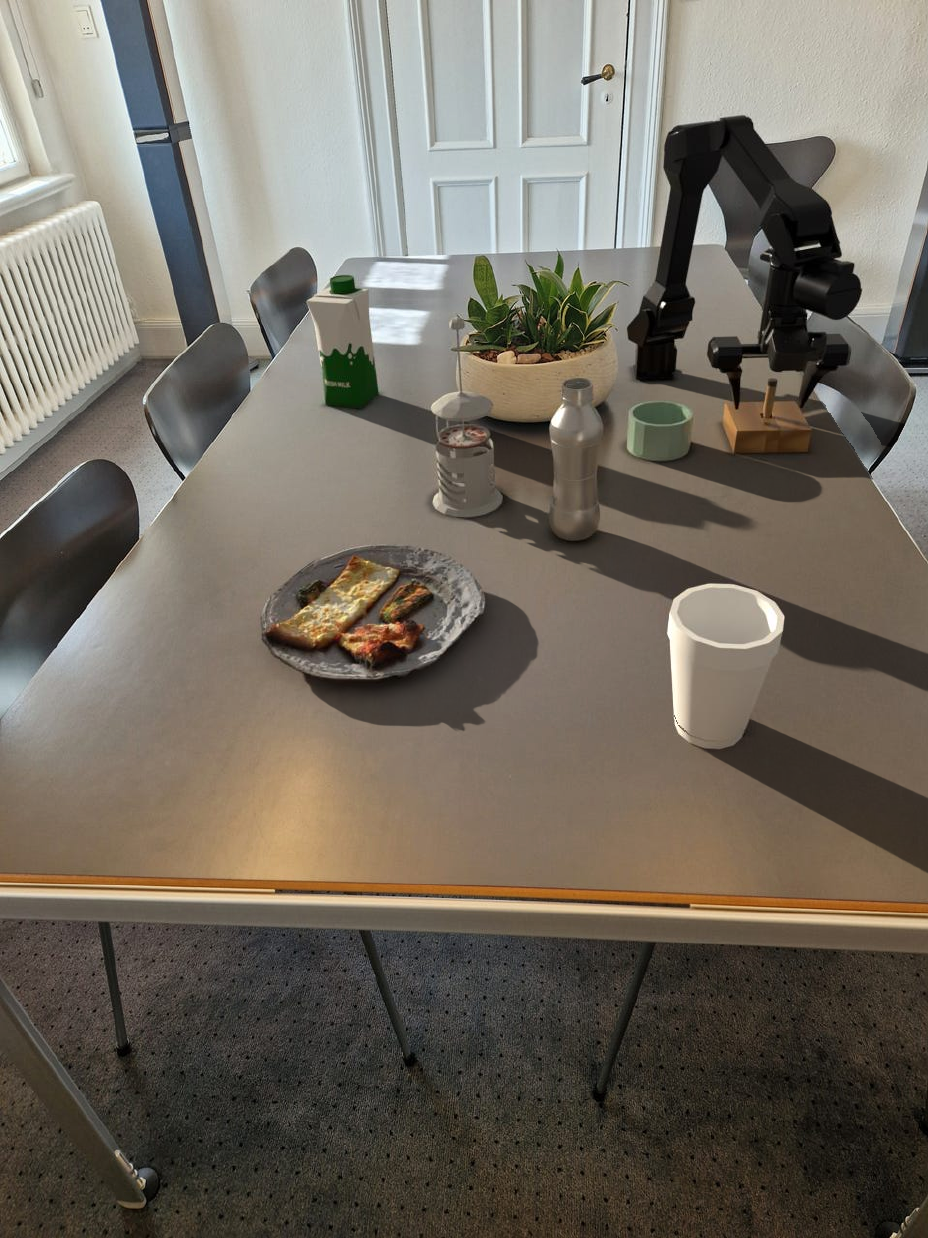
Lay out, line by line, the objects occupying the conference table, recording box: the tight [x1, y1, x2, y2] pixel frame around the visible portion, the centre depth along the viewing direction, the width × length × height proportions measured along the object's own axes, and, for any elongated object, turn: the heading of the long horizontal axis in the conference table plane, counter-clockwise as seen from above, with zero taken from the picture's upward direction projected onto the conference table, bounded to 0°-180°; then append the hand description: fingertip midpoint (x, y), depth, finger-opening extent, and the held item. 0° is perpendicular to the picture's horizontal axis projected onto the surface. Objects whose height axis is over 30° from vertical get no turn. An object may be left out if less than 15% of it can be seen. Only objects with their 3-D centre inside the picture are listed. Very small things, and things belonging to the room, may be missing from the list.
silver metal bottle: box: [548, 377, 604, 542], centre depth 103 cm, size 6×7×20 cm
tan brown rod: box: [763, 377, 778, 418], centre depth 126 cm, size 1×1×9 cm
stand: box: [722, 400, 813, 454], centre depth 128 cm, size 10×10×4 cm
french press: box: [430, 317, 504, 518], centre depth 111 cm, size 10×12×25 cm
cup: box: [626, 400, 695, 462], centre depth 126 cm, size 9×9×6 cm
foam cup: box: [667, 583, 785, 750], centre depth 76 cm, size 10×9×13 cm
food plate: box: [260, 543, 486, 684], centre depth 95 cm, size 25×23×4 cm
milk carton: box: [306, 274, 379, 410], centre depth 144 cm, size 9×9×20 cm
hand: (768, 407), depth 126 cm, fingers open, 9 cm apart
